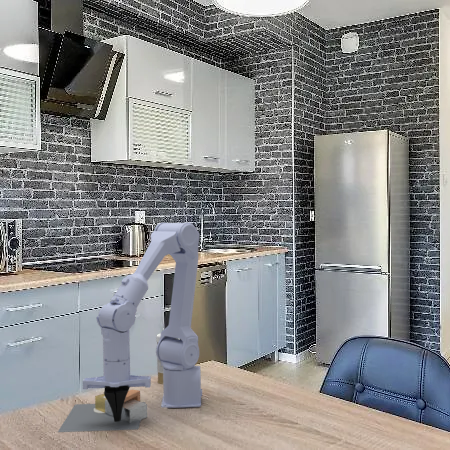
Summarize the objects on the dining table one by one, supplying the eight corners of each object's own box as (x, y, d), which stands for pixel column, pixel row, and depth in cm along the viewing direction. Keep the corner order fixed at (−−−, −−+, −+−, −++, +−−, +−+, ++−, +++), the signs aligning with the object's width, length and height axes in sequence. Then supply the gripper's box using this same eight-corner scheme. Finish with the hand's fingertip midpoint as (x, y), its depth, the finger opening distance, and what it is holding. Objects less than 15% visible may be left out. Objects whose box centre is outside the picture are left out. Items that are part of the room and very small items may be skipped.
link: (95, 408, 131) (95, 396, 131) (112, 403, 134) (112, 391, 134) (129, 423, 121) (129, 410, 121) (147, 417, 125) (147, 404, 125)
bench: (145, 403, 135) (145, 390, 135) (138, 431, 118) (138, 416, 118) (75, 406, 134) (74, 392, 134) (57, 433, 117) (57, 418, 117)
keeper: (132, 409, 132) (131, 389, 132) (140, 410, 131) (140, 390, 130) (115, 417, 126) (115, 397, 126) (124, 419, 125) (123, 398, 125)
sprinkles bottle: (168, 379, 155) (167, 331, 154) (177, 383, 151) (176, 334, 151) (154, 383, 152) (153, 334, 151) (163, 386, 148) (162, 336, 148)
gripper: (79, 364, 117) (80, 428, 117) (148, 362, 117) (149, 425, 118) (85, 355, 124) (87, 416, 124) (151, 354, 124) (152, 413, 125)
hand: (117, 420), depth 121 cm, fingers closed
